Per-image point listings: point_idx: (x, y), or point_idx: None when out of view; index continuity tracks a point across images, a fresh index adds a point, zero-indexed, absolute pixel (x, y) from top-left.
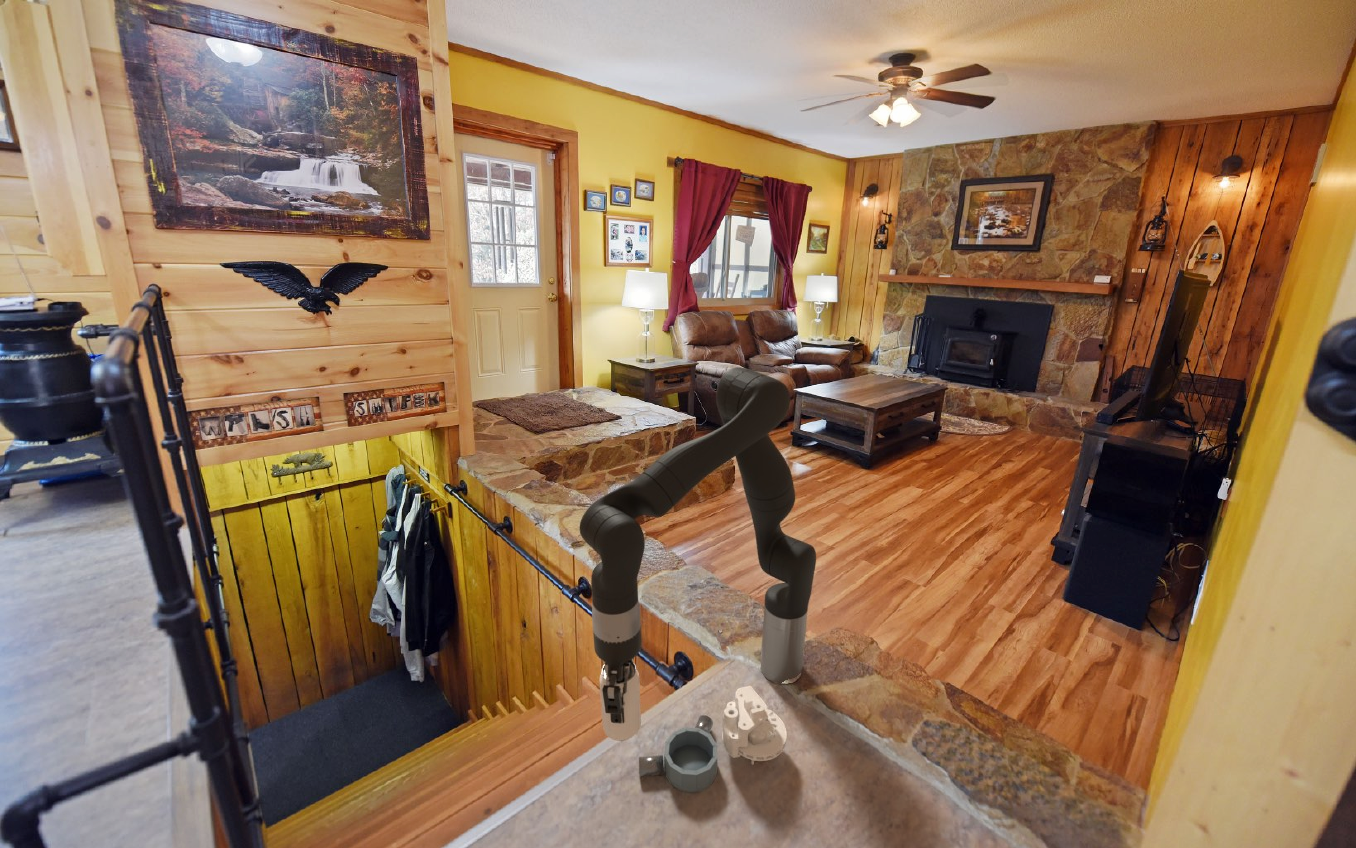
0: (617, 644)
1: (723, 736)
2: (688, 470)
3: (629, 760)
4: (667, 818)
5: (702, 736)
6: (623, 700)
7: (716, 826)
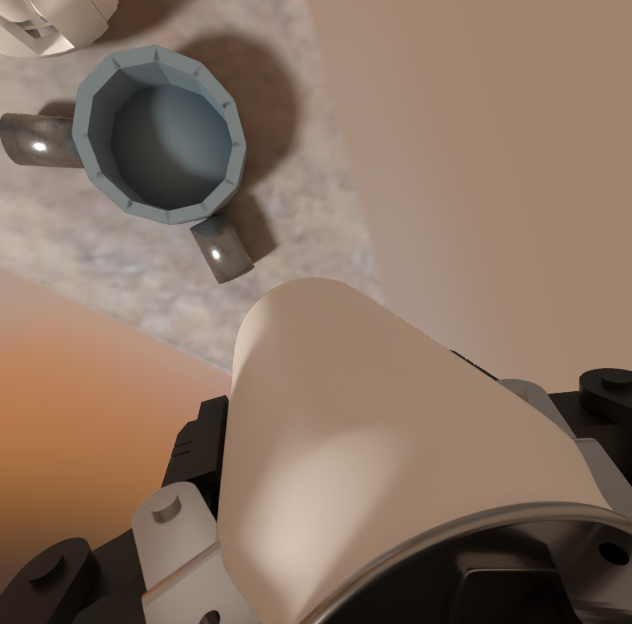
0: None
1: (67, 30)
2: None
3: (216, 305)
4: (314, 172)
5: (93, 118)
6: (544, 411)
7: (296, 50)
